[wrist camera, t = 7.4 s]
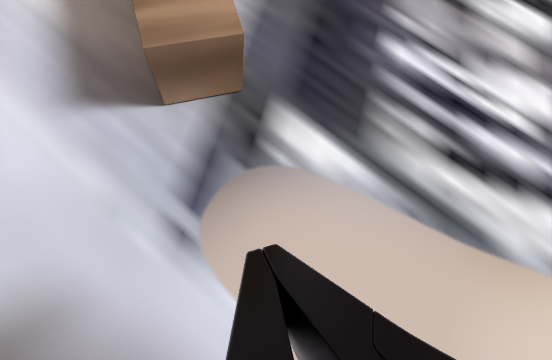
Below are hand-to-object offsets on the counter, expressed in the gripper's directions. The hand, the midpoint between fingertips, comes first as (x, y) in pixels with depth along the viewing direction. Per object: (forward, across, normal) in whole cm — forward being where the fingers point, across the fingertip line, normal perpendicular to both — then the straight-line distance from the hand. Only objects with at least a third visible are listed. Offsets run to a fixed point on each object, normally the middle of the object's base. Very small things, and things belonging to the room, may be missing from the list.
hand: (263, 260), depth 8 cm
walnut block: (+13, 0, -4) cm, 13 cm away
